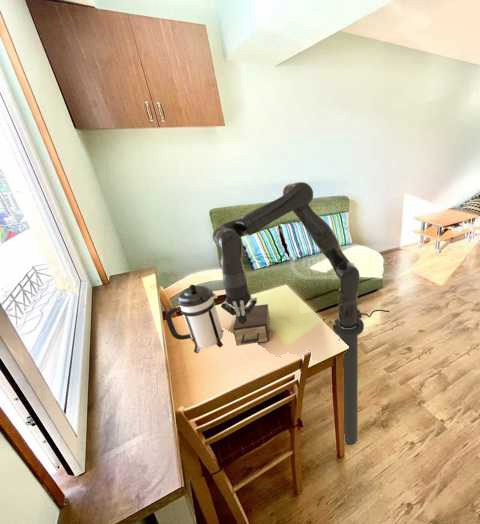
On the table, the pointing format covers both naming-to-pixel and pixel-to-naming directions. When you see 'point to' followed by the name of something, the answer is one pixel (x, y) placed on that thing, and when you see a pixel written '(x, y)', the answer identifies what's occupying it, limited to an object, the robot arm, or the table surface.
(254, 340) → the drawer
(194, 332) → the coffee press
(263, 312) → the cabinet
